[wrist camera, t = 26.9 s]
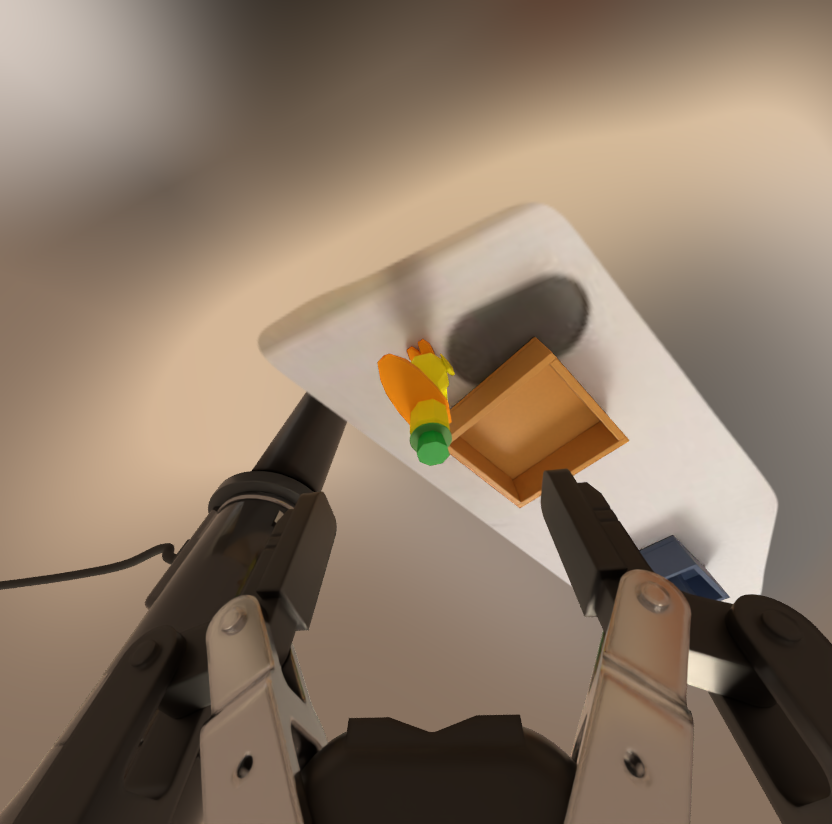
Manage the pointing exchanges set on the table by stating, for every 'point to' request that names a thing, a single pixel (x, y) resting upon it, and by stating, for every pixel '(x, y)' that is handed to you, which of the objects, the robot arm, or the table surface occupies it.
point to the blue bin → (682, 567)
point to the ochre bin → (529, 425)
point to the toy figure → (421, 399)
